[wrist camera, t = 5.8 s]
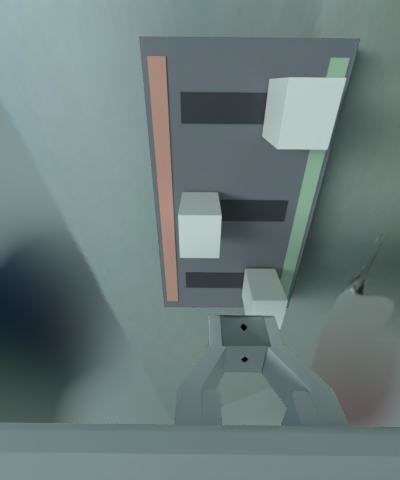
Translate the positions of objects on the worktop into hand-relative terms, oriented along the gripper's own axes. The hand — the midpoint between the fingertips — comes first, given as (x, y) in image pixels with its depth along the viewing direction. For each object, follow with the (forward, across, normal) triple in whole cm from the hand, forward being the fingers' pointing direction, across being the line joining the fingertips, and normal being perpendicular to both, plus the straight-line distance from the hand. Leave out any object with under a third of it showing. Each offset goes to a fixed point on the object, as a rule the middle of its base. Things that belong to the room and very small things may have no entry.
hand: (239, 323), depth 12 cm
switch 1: (+12, -4, +8) cm, 15 cm away
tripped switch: (+12, +2, 0) cm, 12 cm away
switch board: (+15, -1, 0) cm, 15 cm away
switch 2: (+12, -4, -8) cm, 15 cm away
